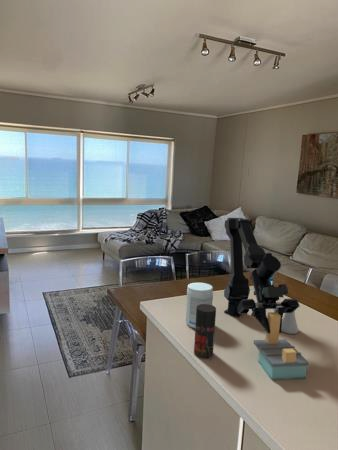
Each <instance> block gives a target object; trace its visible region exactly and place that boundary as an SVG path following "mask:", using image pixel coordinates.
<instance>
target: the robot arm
mask: <svg viewBox="0 0 338 450" xmlns="http://www.w3.org/2000/svg"><path fill="white" fill-rule="evenodd" d="M251 223H252V222H251V220H250V219H248V218H243V217H227V219H226V220H225V221H224V229H225V234H226V235H227V237H228V238H229V240H230V241H229V242H230V265H231V266H230V268H231V275H230V277H229V278H228V280H227V285H226V287H225V289H224V291H223V296H224V298H225V299H226V300H227V301H228V302H227V308H226V309H225V310H224V311H223V312H224V314H228V315H232V316H235V317H238V318H239V317H240V316H242V315H245V314H248V313H249V311H250V310H251V311H252V313H251V314H250V316H252V317H254V318H255V319H256V320H257V321H258V322H259V324H261V326H262V328H264V330H265V332H266V331H267V333H268V334H269V333H270V326H269V323H268V320H267V316H268V315H267V310H273V312H277V313H278V314H279V315H281V319H280V329H279V334H281V333H282V331H281V327H282V319H283V317H284V314H285V313H292V312H295V311H296V310H297V309H298V308H300V302H299V301H298V300H297V299H296V298H284V296H285V295H289V289H288V286H287V283H286V284H285V283H283V284H278V286H275V285H274V284H272V282H271V279H273V278H274V276H275V275H277V273H278V272H279V271H280V269H281V268H282V267H281V266H282V264H281V263H282V262H281V261H280V260H279V259H278V258H277V257H276V256H274V255H273V253H272V252H266V251H265V250H264V248H262V247H261V246H259V244H258V241H257V239H256V237H255V235H254V231H253V229H252V226H251ZM243 249H244V251H245V253H244V256H243ZM244 266H245V268H247V269H250V270H253V271H251V273H250V275H249V279H248V278H246V275H244ZM249 280H251V281H252V284H253V285H252V286H253V289H254V291H253V295H254V296H255V297H256V301H257V302H255V300H254V299H253V298H249V296H250V291H251V289H250V286H249V285H250V284H249ZM280 298H284V299H283V300H282V302H278V301H280Z"/></svg>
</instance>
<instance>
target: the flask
mask: <svg viewBox="0 0 338 450" xmlns="http://www.w3.org/2000/svg"><path fill="white" fill-rule="evenodd" d="M282 332H283V333H286V334H290V335H292V334H293V335H297V334H298V333H299V332H300V331H299V327H298V323H297V319H296V315H295V311H294V312H292V313H284V314H283V317H282V327H281V333H282Z"/></svg>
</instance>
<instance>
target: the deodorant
mask: <svg viewBox="0 0 338 450" xmlns="http://www.w3.org/2000/svg"><path fill="white" fill-rule="evenodd" d="M216 316H217V307H216V306H215V305H213V304H212V305H208V304H200V305H198V306H197V309H196V325H195V328H194V342H193V343H194V344H193V345H194V346H193V355H194V356H195V357H196V358H199V359H202V360H203V359H204V360H208V359H211V358H212V357H213V356H214V343H215V331H216V330H215V329H216V319H217V317H216Z"/></svg>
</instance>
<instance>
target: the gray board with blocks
mask: <svg viewBox="0 0 338 450" xmlns="http://www.w3.org/2000/svg"><path fill="white" fill-rule="evenodd" d="M266 316H267V320H268V323H269V326H270V333H269V334H268V333H267V331H266V330H265V339H254V340H253V343H252V344H253V345H254V346H255V347H256V348H257V350H258V352H259V351H260V352H261V354H262V355H263V356H264V357H265V359H266V360H267V361H268V363H269V364H270V365H271V366H272V367H289V366H307V367H308V366H309V361H308V360H307V359H306V358H305V357H304V356H303V355H302V352H300V351H298V350H297V349H296V348H295V346H294V345H292V344H291V343H290V342H289V341H288V340H287V339H286V338H282V339H281V338H280V339H279V336H280V333H279V329H280V319H281V315H279V314H278V313H277V312H274V311H273V312H271V311H270V312H267V315H266Z"/></svg>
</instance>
